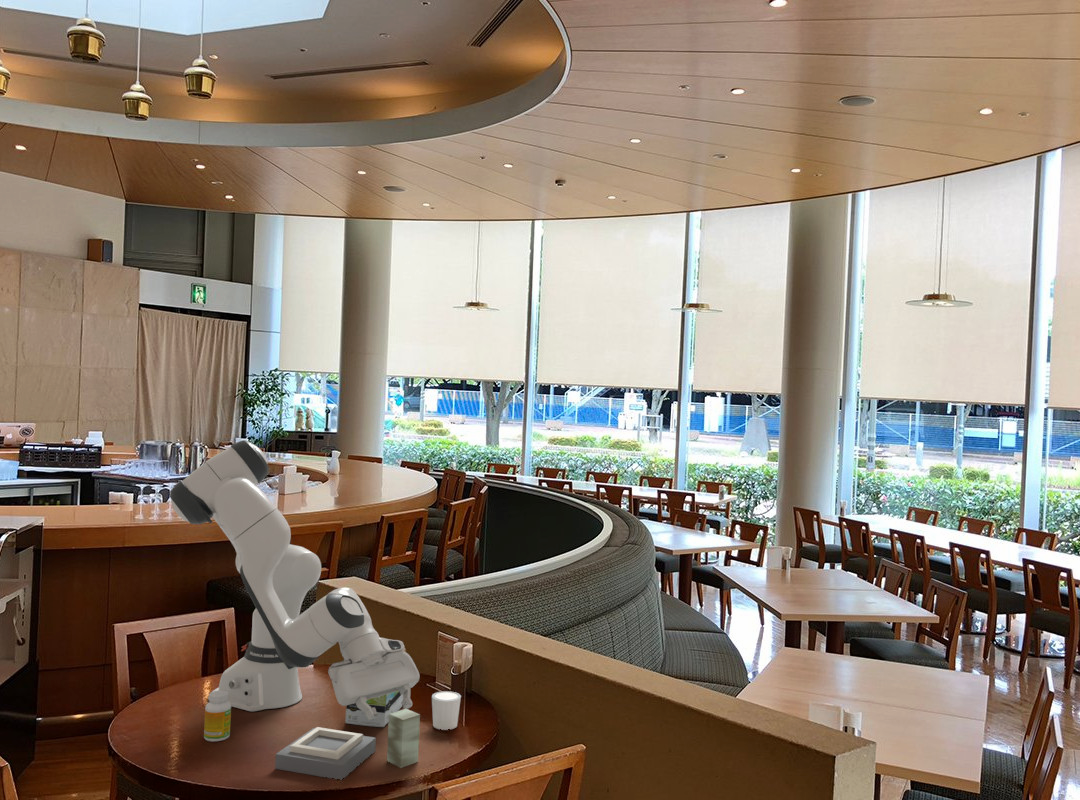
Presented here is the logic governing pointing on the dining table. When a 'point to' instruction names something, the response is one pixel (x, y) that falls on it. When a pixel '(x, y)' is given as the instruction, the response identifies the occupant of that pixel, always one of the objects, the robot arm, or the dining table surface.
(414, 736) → the green block
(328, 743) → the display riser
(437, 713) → the white cup
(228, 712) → the supplement bottle
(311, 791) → the dining table surface
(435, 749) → the dining table surface
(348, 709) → the tea box
